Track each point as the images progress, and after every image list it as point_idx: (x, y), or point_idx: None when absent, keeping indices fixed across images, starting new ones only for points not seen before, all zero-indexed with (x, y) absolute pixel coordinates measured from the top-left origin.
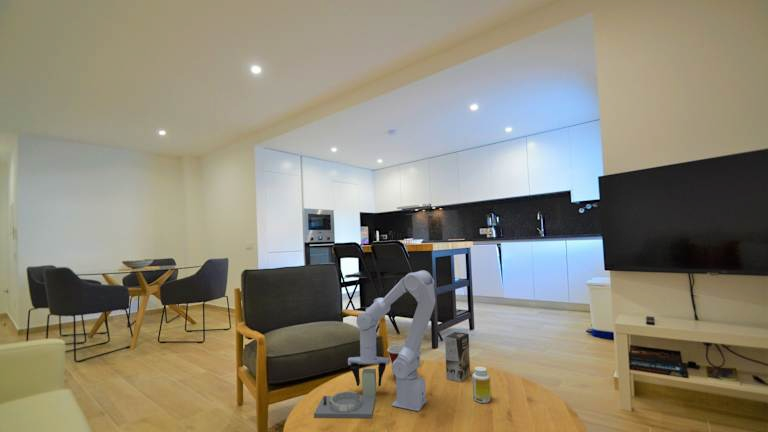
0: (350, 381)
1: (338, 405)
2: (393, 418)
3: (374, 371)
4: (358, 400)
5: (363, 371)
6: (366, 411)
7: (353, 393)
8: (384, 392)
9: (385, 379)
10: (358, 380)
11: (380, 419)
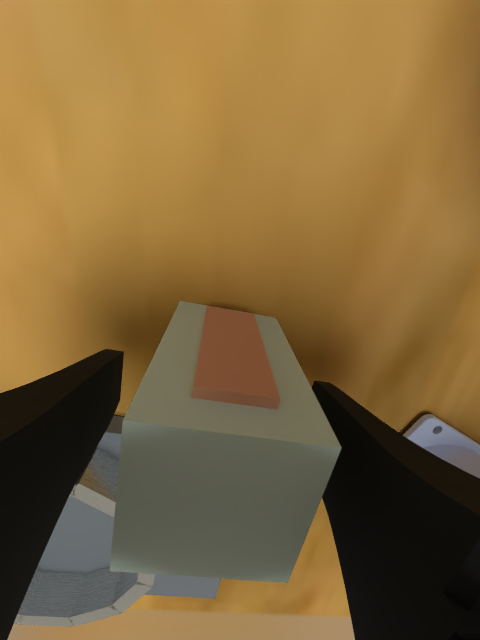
0: (11, 4)
1: (16, 622)
2: (311, 581)
3: (301, 531)
4: (137, 586)
5: (129, 516)
6: (191, 581)
7: (89, 499)
8: (333, 341)
9: (418, 46)
10: (97, 436)
11: (254, 583)
